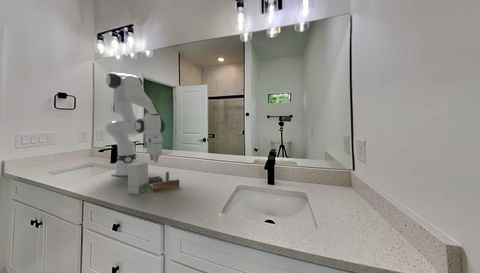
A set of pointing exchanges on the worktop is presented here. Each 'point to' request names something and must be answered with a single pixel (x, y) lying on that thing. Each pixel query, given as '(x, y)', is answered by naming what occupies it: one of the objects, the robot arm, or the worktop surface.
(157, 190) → the hook shelf
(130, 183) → the skincare box
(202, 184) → the worktop surface
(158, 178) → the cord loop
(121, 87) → the robot arm
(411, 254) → the worktop surface
